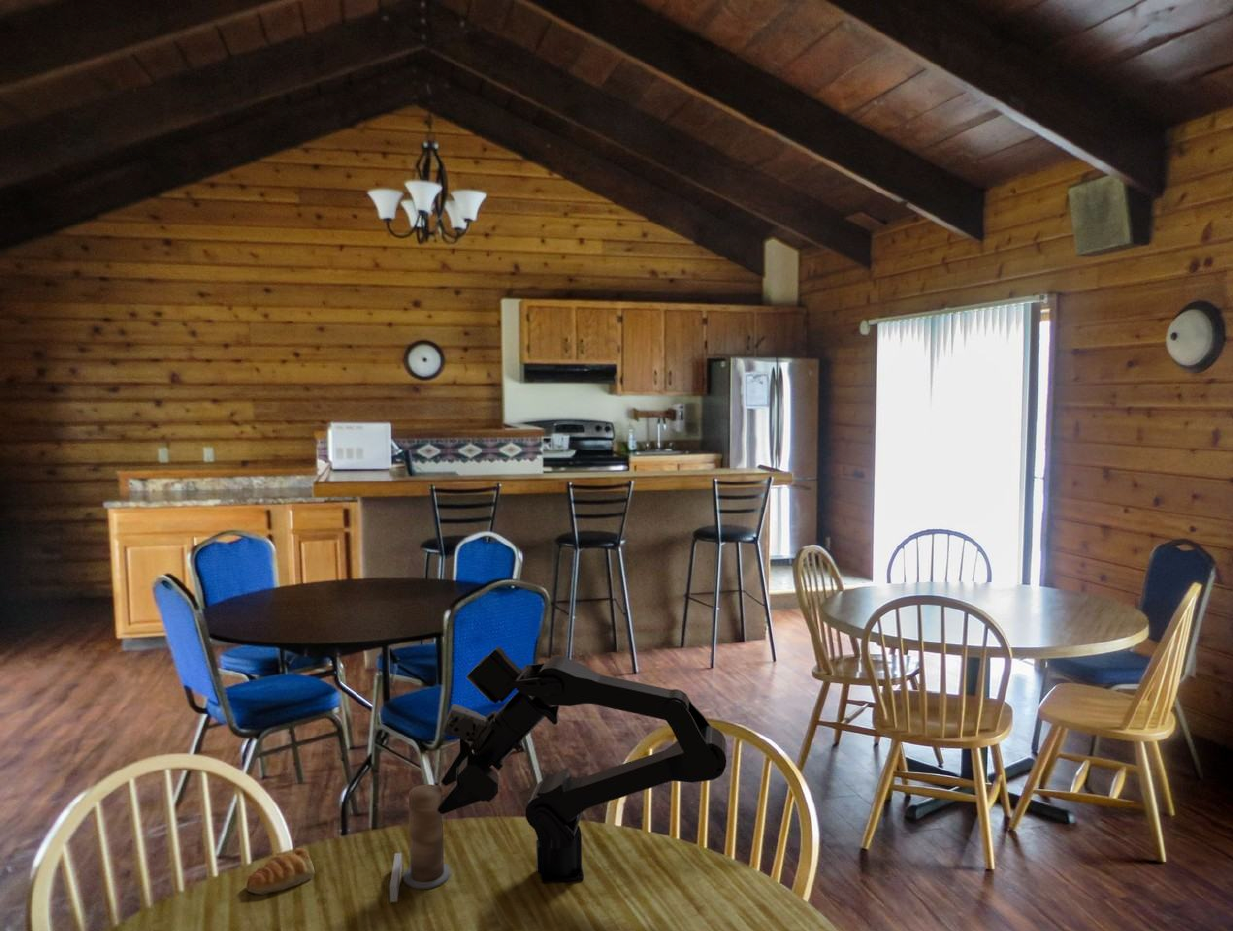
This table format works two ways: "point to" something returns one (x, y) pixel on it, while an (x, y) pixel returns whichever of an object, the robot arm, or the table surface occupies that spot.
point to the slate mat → (426, 885)
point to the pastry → (282, 872)
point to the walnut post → (426, 833)
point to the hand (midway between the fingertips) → (441, 797)
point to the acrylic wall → (395, 877)
